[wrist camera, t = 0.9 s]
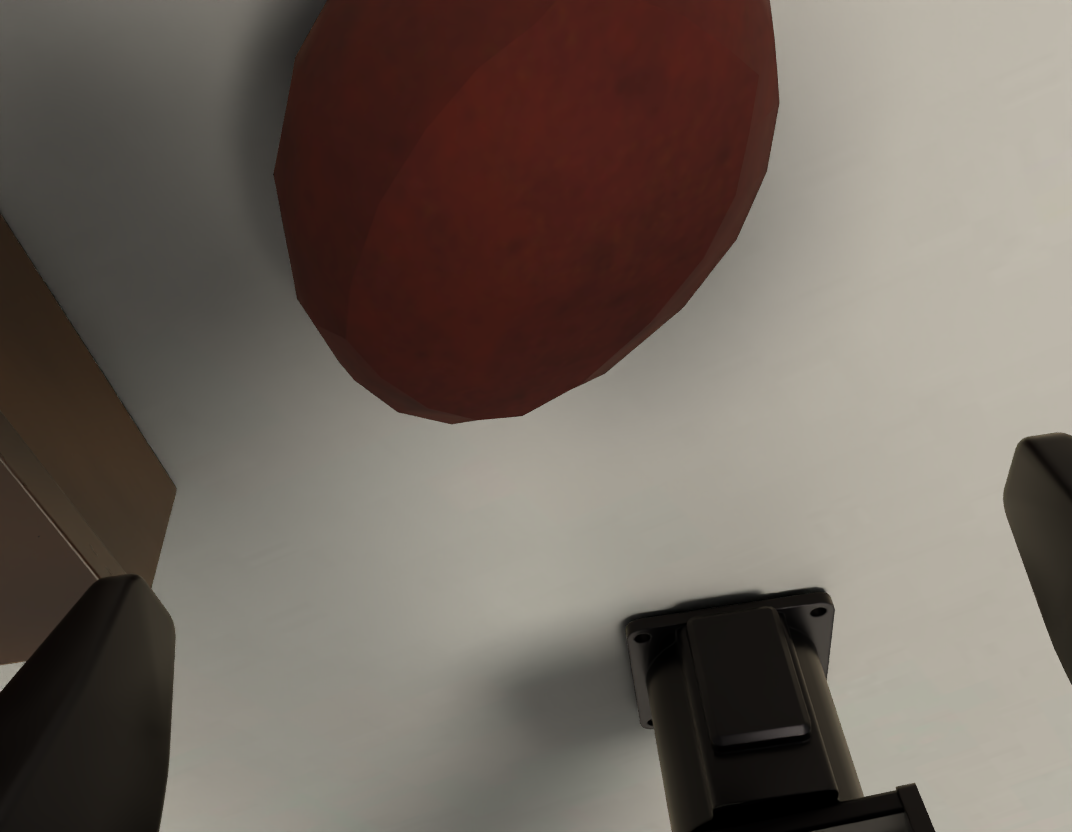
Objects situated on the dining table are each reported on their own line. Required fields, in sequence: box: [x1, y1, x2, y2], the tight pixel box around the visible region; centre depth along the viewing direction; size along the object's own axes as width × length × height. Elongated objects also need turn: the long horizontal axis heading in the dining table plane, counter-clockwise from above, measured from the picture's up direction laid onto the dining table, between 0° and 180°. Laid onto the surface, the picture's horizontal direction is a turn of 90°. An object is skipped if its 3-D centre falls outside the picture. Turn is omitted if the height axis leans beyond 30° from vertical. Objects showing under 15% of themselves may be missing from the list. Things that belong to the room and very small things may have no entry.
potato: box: [273, 0, 779, 424], centre depth 16 cm, size 7×10×6 cm
